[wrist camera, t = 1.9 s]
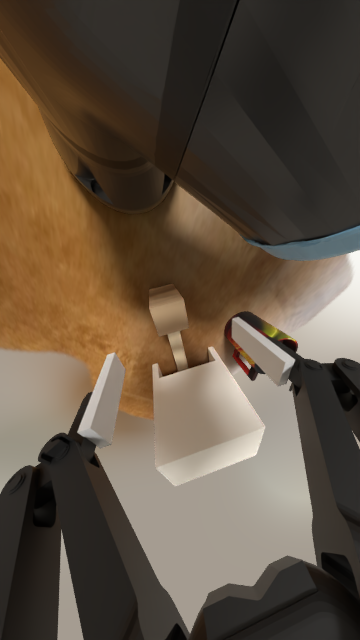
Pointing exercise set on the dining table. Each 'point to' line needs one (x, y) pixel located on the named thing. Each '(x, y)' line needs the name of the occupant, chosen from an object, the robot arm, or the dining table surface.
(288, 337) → the mug
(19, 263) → the dining table surface
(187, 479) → the cabinet
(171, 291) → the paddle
